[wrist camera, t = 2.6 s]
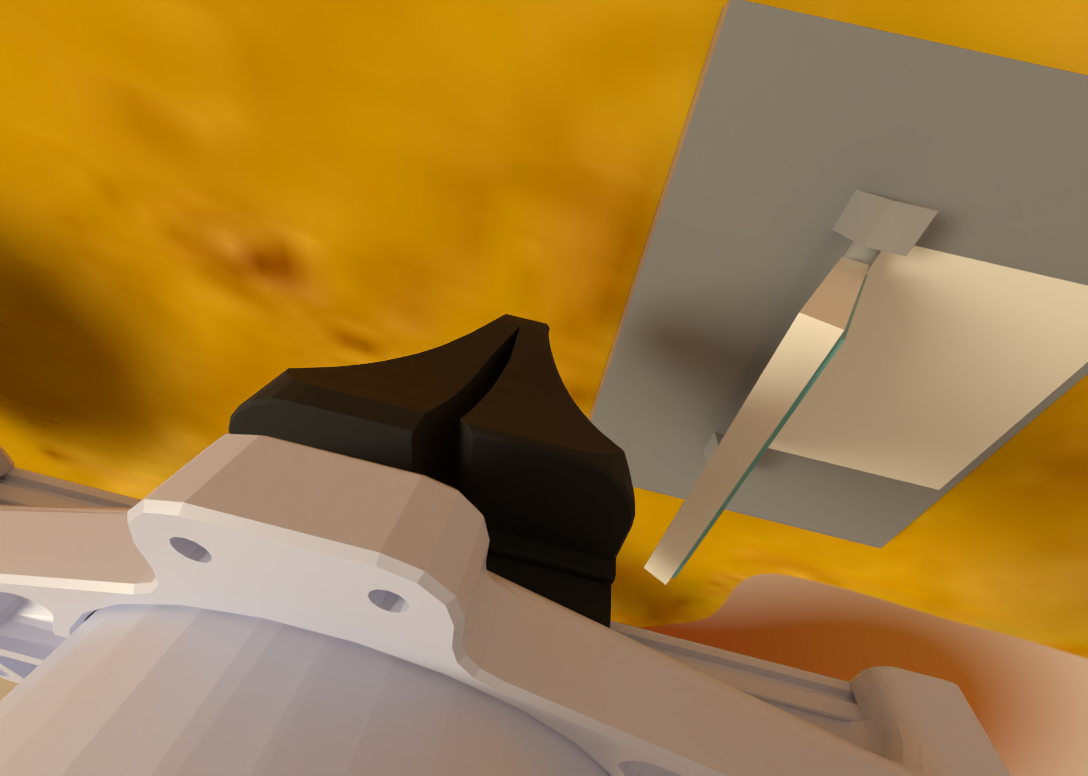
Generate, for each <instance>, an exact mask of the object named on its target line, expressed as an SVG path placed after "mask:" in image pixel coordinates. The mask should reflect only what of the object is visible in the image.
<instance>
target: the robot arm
mask: <svg viewBox="0 0 1088 776" xmlns="http://www.w3.org/2000/svg"><path fill="white" fill-rule="evenodd" d="M634 517H635V498H634V490H633V485H632V480H631V475H630V470H629V466H628V462H627V459H626V455H625V452H624V450H622V449H621V448H620V447H619V446H617V445H616V444H615V443H614V442H613V441H611V440H610V439H609V438H608V437H607V436H605V435H604V434H603V433H602V432H601V431H599V430H598V429H597V428H596V427H595V426H594V425H593V423H592V422H591V421H590V420H589V419H588V418H587V417H586V416H585V415H584V414H583V413H582V411H581V410H580V409H579V407H578V406H577V405H576V404H575V402H574V401H573V399H572V398H571V396H570V395H569V393H568V391H567V389H566V388H565V386H564V384H563V382H562V380H561V377H560V375H559V373H558V370H557V368H556V365H555V362H554V359H553V355H552V352H551V348H550V343H549V327H548V325H547V324H545V323H541V322H537V321H533V320H528V319H524V318H520V317H516V316H512V315H508V314H505V315H503V316H501V317H500V318H498V319H496V320H494V321H492V322H491V323H489V324H487V325H485V326H483V327H481V328H480V329H478V330H476V331H474V332H472V333H470V334H468V335H466V336H463V337H461V338H459V339H457V340H454V341H452V342H450V343H448V344H445V345H442V346H440V347H437V348H434V349H431V350H428V351H424V352H421V353H418V354H414V355H410V356H405V357H401V358H396V359H391V360H387V361H381V362H375V363H368V364H360V365H351V366H340V367H319V368H289V369H287V370H286V371H284V372H283V373H282V374H280V375H279V376H278V377H276V378H275V379H274V380H273V381H271V382H270V383H269V384H267V385H266V386H265V387H263V388H262V389H261V390H259V391H258V392H257V393H255V394H254V395H253V396H251V397H250V398H249V399H248V400H246V401H245V402H244V403H242V404H241V405H240V406H239V407H238V408H237V409H236V410H235V412H234V413H233V414H232V415H231V418H230V424H229V434H225V435H223V436H222V437H221V438H219V439H218V440H216V441H215V442H214V443H212V444H211V445H210V446H208V447H207V448H206V449H205V450H203V451H202V452H201V453H200V454H198V455H197V456H196V457H195V458H193V459H192V460H191V461H190V462H188V463H187V464H186V465H185V466H183V467H182V468H181V469H180V470H178V471H177V472H176V473H175V474H173V475H172V476H171V477H170V478H168V479H167V480H166V481H165V482H163V483H162V484H161V485H160V486H158V487H157V488H156V489H155V490H153V491H152V492H151V493H150V494H148V495H147V496H146V497H145V498H143V499H142V500H140V499H136V498H132V497H128V496H124V495H120V494H116V493H112V492H109V491H105V490H101V489H97V488H93V487H89V486H85V485H81V484H78V483H74V482H70V481H66V480H62V479H58V478H54V477H50V476H46V475H43V474H39V473H35V472H31V471H27V470H23V469H19V468H15V467H14V462H13V461H12V459H11V458H10V456H9V455H8V454H7V453H6V452H5V450H4V449H3V448H2V447H0V677H1V678H4V679H6V680H9V681H12V682H15V683H18V685H17V686H16V687H15V688H14V689H13V690H12V691H11V692H10V693H9V694H8V695H6V696H5V697H4V698H3V699H2V700H1V701H0V776H1011V775H1010V773H1009V771H1008V770H1007V768H1006V766H1005V765H1004V763H1003V761H1002V760H1001V758H1000V756H999V755H998V753H997V751H996V749H995V748H994V746H993V745H992V743H991V741H990V739H989V738H988V736H987V734H986V733H985V731H984V729H983V727H982V726H981V724H980V722H979V721H978V719H977V717H976V716H975V714H974V712H973V711H972V709H971V707H970V705H969V704H968V702H967V700H966V699H965V697H964V695H963V694H962V692H961V691H960V688H959V687H958V686H957V685H956V684H954V683H952V682H950V681H947V680H943V679H939V678H935V677H931V676H928V675H924V674H920V673H916V672H912V671H908V670H904V669H900V668H896V667H889V666H878V667H872V668H869V669H866V670H864V671H862V672H861V673H859V674H858V675H856V676H855V677H854V678H853V679H852V680H851V682H847V681H843V680H839V679H836V678H832V677H827V676H824V675H820V674H816V673H812V672H808V671H804V670H801V669H797V668H793V667H789V666H785V665H781V664H777V663H773V662H769V661H766V660H762V659H757V658H754V657H750V656H746V655H742V654H738V653H734V652H730V651H726V650H723V649H719V648H715V647H711V646H707V645H703V644H699V643H695V642H692V641H688V640H684V639H680V638H676V637H672V636H668V635H665V634H660V633H656V632H653V631H649V630H645V629H641V628H637V627H633V626H630V625H626V624H622V623H618V622H614V621H610V618H611V583H613V582H614V580H615V575H616V556H617V554H618V552H619V551H620V549H621V547H622V545H623V543H624V541H625V539H626V537H627V535H628V533H629V531H630V529H631V527H632V524H633V520H634Z"/></svg>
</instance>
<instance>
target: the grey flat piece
mask: <svg viewBox="0 0 1088 776" xmlns="http://www.w3.org/2000/svg"><path fill="white" fill-rule="evenodd" d="M841 257H846V258H849V259H852V260H855V261H858V262H861V263H865V264H868V265H869V266H868V269H867V271H866V274H868V275H867V278H866V281H865V284H864V287H863V289H862V292H861V295H860V298H859V301H858V304H857V307H856V309H855V312H854V315H853V318H852V321H851V324H850V327H849V329H848V332H847V335H846V338H845V340H844V342H843V343H842V345H841V346H840V348H839V349H838V350H837V352H836V353H835V355H834V356H833V357H832V359H831V360H830V362H829V363H828V364H827V366H826V367H825V369H824V370H823V371H822V373H821V374H820V376H819V377H818V378H817V380H816V381H815V383H814V384H813V385H812V387H811V388H810V390H809V391H808V392H807V394H806V395H805V397H804V398H803V399H802V401H801V402H800V404H799V405H798V406H797V408H796V409H795V411H794V412H793V413H792V415H791V416H790V418H789V419H788V420H787V422H786V423H785V425H784V426H783V428H782V429H781V430H780V432H779V433H778V435H777V436H776V437H775V439H774V440H773V442H772V443H771V444H770V446H769V447H768V449H767V450H766V451H765V453H764V454H763V456H762V457H761V458H760V460H759V461H758V463H757V464H756V465H755V467H754V468H753V470H752V471H751V472H750V474H749V475H748V477H747V478H746V479H745V481H744V482H743V484H742V485H741V486H740V488H739V489H738V491H737V492H736V493H735V495H734V496H733V498H732V499H731V501H730V502H729V503H728V505H727V506H726V508H725V510H729V511H733V512H737V513H741V514H745V515H749V516H753V517H757V518H761V519H765V520H769V521H773V522H777V523H781V524H785V525H789V526H793V527H797V528H801V529H805V530H809V531H813V532H817V533H821V534H825V535H829V536H833V537H837V538H841V539H845V540H849V541H853V542H857V543H861V544H865V545H869V546H873V547H877V548H882V547H883V546H884V545H885V544H887V543H888V542H889V541H890V540H891V539H892V538H894V537H895V536H896V535H897V534H898V533H900V532H901V531H902V530H903V529H904V528H906V527H907V526H908V525H909V524H910V523H911V522H913V521H914V520H915V519H916V518H917V517H919V516H920V515H921V514H922V513H923V512H924V511H926V510H927V509H928V508H929V507H930V506H932V505H933V504H934V503H935V502H936V501H938V500H939V499H940V498H941V497H942V496H943V495H945V494H946V493H947V492H948V491H949V490H951V489H952V488H953V487H954V486H955V485H957V484H958V483H959V482H960V481H961V480H962V479H964V478H965V477H966V476H967V475H968V474H970V473H971V472H972V471H973V470H974V469H975V468H977V467H978V466H979V465H980V464H981V463H983V462H984V461H985V460H986V459H987V458H989V457H990V456H991V455H992V454H993V453H994V452H996V451H997V450H998V449H999V448H1000V447H1002V446H1003V445H1004V444H1005V443H1006V442H1008V441H1009V440H1010V439H1011V438H1012V437H1013V436H1015V435H1016V434H1017V433H1018V432H1019V431H1021V430H1022V429H1023V428H1024V427H1025V426H1026V425H1028V424H1029V423H1030V422H1031V421H1032V420H1034V419H1035V418H1036V417H1037V416H1038V415H1040V414H1041V413H1042V412H1043V411H1044V410H1045V409H1047V408H1048V407H1049V406H1050V405H1051V404H1053V403H1054V402H1055V401H1056V400H1057V399H1059V398H1060V397H1061V396H1062V395H1063V394H1064V393H1066V392H1067V391H1068V390H1069V389H1070V388H1072V387H1073V386H1074V385H1075V384H1076V383H1077V382H1079V381H1080V380H1081V379H1082V378H1083V377H1085V376H1086V375H1087V374H1088V76H1087V75H1083V74H1078V73H1073V72H1069V71H1064V70H1060V69H1055V68H1051V67H1046V66H1041V65H1037V64H1032V63H1028V62H1023V61H1019V60H1014V59H1009V58H1005V57H1000V56H996V55H991V54H987V53H982V52H977V51H973V50H968V49H964V48H959V47H954V46H950V45H945V44H941V43H936V42H932V41H927V40H922V39H918V38H913V37H909V36H904V35H900V34H895V33H890V32H886V31H881V30H877V29H872V28H868V27H863V26H858V25H854V24H849V23H845V22H840V21H835V20H831V19H826V18H822V17H817V16H813V15H808V14H803V13H799V12H794V11H790V10H785V9H781V8H776V7H771V6H767V5H762V4H758V3H753V2H749V1H744V0H729V1H728V2H727V3H726V4H725V5H724V6H723V9H722V12H721V15H720V18H719V21H718V24H717V27H716V30H715V33H714V36H713V39H712V42H711V46H710V49H709V52H708V55H707V58H706V61H705V64H704V67H703V70H702V73H701V76H700V79H699V82H698V85H697V88H696V91H695V95H694V98H693V101H692V104H691V107H690V110H689V113H688V116H687V119H686V122H685V125H684V128H683V131H682V134H681V137H680V140H679V143H678V147H677V150H676V153H675V156H674V159H673V162H672V165H671V168H670V171H669V174H668V177H667V180H666V183H665V186H664V189H663V192H662V196H661V199H660V202H659V205H658V208H657V211H656V214H655V217H654V220H653V223H652V226H651V229H650V232H649V235H648V238H647V241H646V245H645V248H644V251H643V254H642V257H641V260H640V263H639V266H638V269H637V272H636V275H635V278H634V281H633V284H632V287H631V290H630V294H629V297H628V300H627V303H626V306H625V309H624V312H623V315H622V318H621V321H620V324H619V327H618V330H617V333H616V336H615V339H614V342H613V346H612V349H611V352H610V355H609V358H608V361H607V364H606V367H605V370H604V373H603V376H602V379H601V382H600V385H599V388H598V391H597V395H596V398H595V401H594V404H593V407H592V410H591V413H590V416H589V420H590V421H591V422H592V423H593V425H594V426H595V427H596V428H597V429H598V430H599V431H601V432H602V433H603V434H604V435H605V436H607V437H608V438H609V439H610V440H611V441H613V442H614V443H615V444H616V445H617V446H619V447H620V448H621V449H622V450H624V452H625V455H626V459H627V462H628V466H629V470H630V475H631V480H632V485H633V487H637V488H641V489H645V490H649V491H653V492H657V493H661V494H665V495H669V496H673V497H677V498H681V499H686V498H687V496H688V494H689V493H690V491H691V490H692V488H693V486H694V485H695V483H696V481H697V480H698V478H699V476H700V475H701V473H702V471H703V470H704V468H705V467H706V465H707V463H708V462H709V460H710V458H711V457H712V455H713V453H714V452H715V450H716V448H717V447H718V445H719V443H720V442H721V440H722V439H723V437H724V435H725V434H726V432H727V430H728V429H729V427H730V425H731V424H732V422H733V420H734V419H735V417H736V416H737V414H738V412H739V411H740V409H741V407H742V406H743V404H744V402H745V401H746V399H747V397H748V396H749V394H750V392H751V391H752V389H753V388H754V386H755V384H756V383H757V381H758V379H759V378H760V376H761V374H762V373H763V371H764V369H765V368H766V366H767V365H768V363H769V361H770V360H771V358H772V356H773V355H774V353H775V351H776V350H777V348H778V346H779V345H780V343H781V341H782V340H783V338H784V337H785V335H786V333H787V332H788V330H789V328H790V327H791V325H792V323H793V322H794V320H795V318H796V317H797V315H798V314H799V312H800V311H801V309H802V308H803V307H804V305H805V304H806V303H807V302H808V300H809V299H810V298H811V296H812V295H813V294H814V292H815V291H816V290H817V288H818V287H819V286H820V285H821V283H822V282H823V281H824V279H825V278H826V277H827V275H828V274H829V273H830V271H831V270H832V269H833V268H834V266H835V265H836V264H837V262H838V261H839V260H840V258H841Z"/></svg>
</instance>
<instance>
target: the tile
mask: <svg viewBox="0 0 1088 776" xmlns="http://www.w3.org/2000/svg"><path fill="white" fill-rule="evenodd" d="M868 266H869V265H868V264H865V263H861V262H858V261H855V260H852V259H849V258H846V257H841V258H840V260H839V261H838V262H837V264H836V265H835V266H834V268H833V269H832V270H831V271H830V273H829V274H828V275H827V277H826V278H825V279H824V281H823V282H822V283H821V285H820V286H819V287H818V288H817V290H816V291H815V292H814V294H813V295H812V296H811V298H810V299H809V300H808V302H807V303H806V304H805V305H804V307H803V308H802V309H801V311H800V312H799V314H798V315H797V317H796V318H795V320H794V322H793V323H792V325H791V327H790V328H789V330H788V332H787V333H786V335H785V337H784V338H783V340H782V341H781V343H780V345H779V346H778V348H777V350H776V351H775V353H774V355H773V356H772V358H771V360H770V361H769V363H768V365H767V366H766V368H765V369H764V371H763V373H762V374H761V376H760V378H759V379H758V381H757V383H756V384H755V386H754V388H753V389H752V391H751V392H750V394H749V396H748V397H747V399H746V401H745V402H744V404H743V406H742V407H741V409H740V411H739V412H738V414H737V416H736V417H735V419H734V420H733V422H732V424H731V425H730V427H729V429H728V430H727V432H726V434H725V435H724V437H723V439H722V440H721V442H720V443H719V445H718V447H717V448H716V450H715V452H714V453H713V455H712V457H711V458H710V460H709V462H708V463H707V465H706V467H705V468H704V470H703V471H702V473H701V475H700V476H699V478H698V480H697V481H696V483H695V485H694V486H693V488H692V490H691V491H690V493H689V494H688V496H687V498H686V499H685V501H684V503H683V504H682V506H681V508H680V509H679V511H678V513H677V514H676V516H675V518H674V519H673V521H672V522H671V524H670V526H669V527H668V529H667V531H666V532H665V534H664V536H663V537H662V539H661V541H660V542H659V544H658V545H657V547H656V549H655V550H654V552H653V554H652V555H651V557H650V559H649V560H648V562H647V564H646V565H645V567H644V568H645V569H646V570H647V571H649V572H650V573H651V574H652V575H654V576H655V577H656V578H658V579H659V580H660V581H661V582H663V583H664V584H665V585H666V584H667V583H668V581H669V580H670V579H671V577H673V578H674V579H675V578H676V576H677V575H678V573H679V572H680V571H681V569H682V568H683V566H684V565H685V564H686V562H687V561H688V559H689V558H690V557H691V555H692V554H693V552H694V551H695V550H696V548H697V547H698V545H699V544H700V543H701V541H702V540H703V538H704V537H705V536H706V534H707V533H708V531H709V530H710V529H711V527H712V526H713V524H714V523H715V522H716V520H717V519H718V517H719V516H720V515H721V513H722V512H723V510H724V509H725V508H726V506H727V505H728V503H729V502H730V501H731V499H732V498H733V496H734V495H735V493H736V492H737V491H738V489H739V488H740V486H741V485H742V484H743V482H744V481H745V479H746V478H747V477H748V475H749V474H750V472H751V471H752V470H753V468H754V467H755V465H756V464H757V463H758V461H759V460H760V458H761V457H762V456H763V454H764V453H765V451H766V450H767V449H768V447H769V446H770V444H771V443H772V442H773V440H774V439H775V437H776V436H777V435H778V433H779V432H780V430H781V429H782V428H783V426H784V425H785V423H786V422H787V420H788V419H789V418H790V416H791V415H792V413H793V412H794V411H795V409H796V408H797V406H798V405H799V404H800V402H801V401H802V399H803V398H804V397H805V395H806V394H807V392H808V391H809V390H810V388H811V387H812V385H813V384H814V383H815V381H816V380H817V378H818V377H819V376H820V374H821V373H822V371H823V370H824V369H825V367H826V366H827V364H828V363H829V362H830V360H831V359H832V357H833V356H834V355H835V353H836V352H837V350H838V349H839V348H840V346H841V345H842V343H843V342H844V340H845V338H846V335H847V332H848V329H849V327H850V324H851V321H852V318H853V315H854V312H855V309H856V307H857V304H858V301H859V298H860V295H861V292H862V289H863V287H864V284H865V281H866V278H867V275H868V274H866V271H867V269H868Z"/></svg>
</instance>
